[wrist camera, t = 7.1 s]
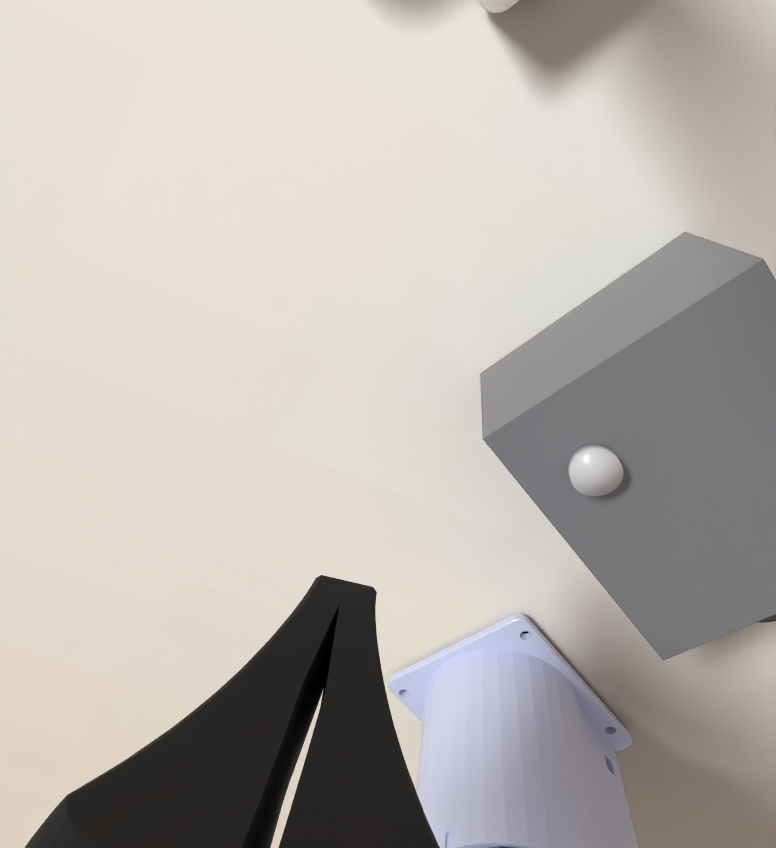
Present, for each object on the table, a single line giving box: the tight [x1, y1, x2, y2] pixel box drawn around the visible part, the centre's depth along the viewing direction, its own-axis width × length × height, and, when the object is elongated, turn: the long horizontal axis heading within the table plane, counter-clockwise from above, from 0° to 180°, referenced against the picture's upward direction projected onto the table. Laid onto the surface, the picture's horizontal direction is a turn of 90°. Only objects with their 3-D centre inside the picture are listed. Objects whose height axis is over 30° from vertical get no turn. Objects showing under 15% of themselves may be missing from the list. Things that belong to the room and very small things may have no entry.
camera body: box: [480, 232, 776, 660], centre depth 19 cm, size 12×8×6 cm
